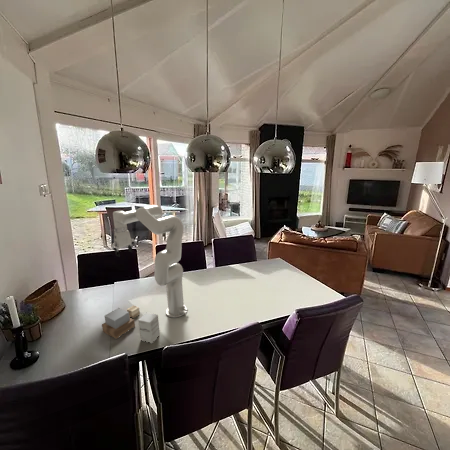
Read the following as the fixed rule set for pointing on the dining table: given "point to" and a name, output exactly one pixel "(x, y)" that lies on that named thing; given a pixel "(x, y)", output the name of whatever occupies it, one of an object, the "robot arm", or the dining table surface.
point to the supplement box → (149, 327)
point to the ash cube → (133, 311)
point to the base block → (118, 329)
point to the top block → (117, 318)
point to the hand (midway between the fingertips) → (124, 254)
